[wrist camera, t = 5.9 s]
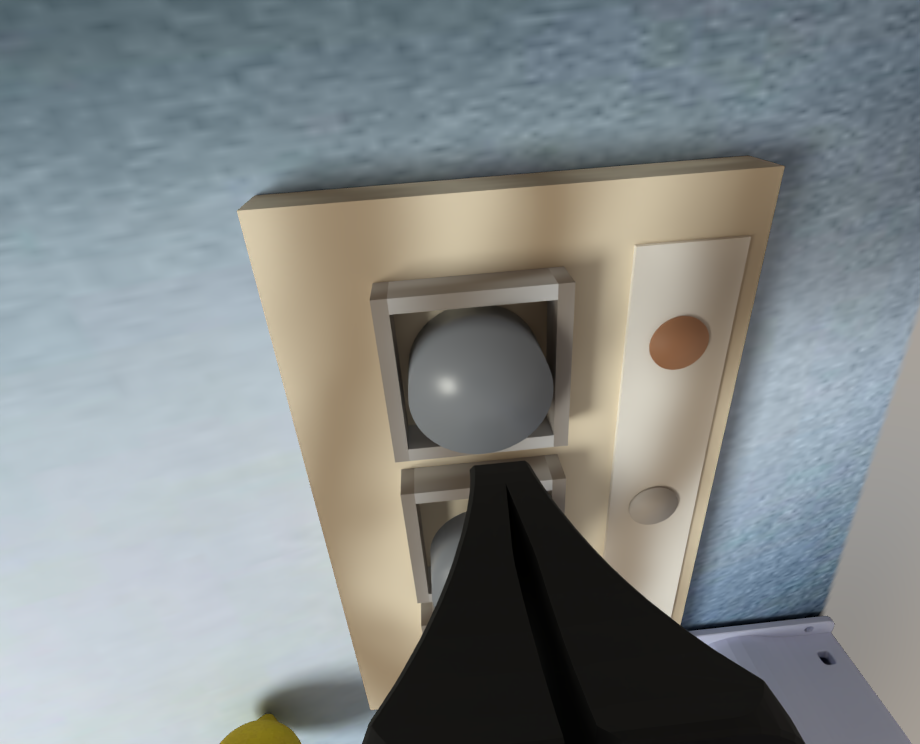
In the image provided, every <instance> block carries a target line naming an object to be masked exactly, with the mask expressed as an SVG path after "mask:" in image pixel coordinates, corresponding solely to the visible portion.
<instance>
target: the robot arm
mask: <svg viewBox="0 0 920 744" xmlns="http://www.w3.org/2000/svg"><path fill="white" fill-rule="evenodd" d="M834 624H835V623H834V622H833V621H832V619H831V618H830V617H828V616H819V617H810V618H801V619H792V620H783V621H774V622H765V623H756V624H747V625H738V626H729V627H720V628H711V629H702V630H693V631H687V630H686V629H684V628H683V627H682V626H681V625H679V624H678V623H677V622H676V621H674V620H673V619H672V618H670V617H669V616H668V615H667V614H665V613H664V612H663V611H662V610H660V609H659V608H658V607H656V606H655V605H654V604H653V603H651V602H650V601H649V600H648V599H646V598H645V597H644V596H643V595H642V594H641V593H640V592H638V591H637V590H636V589H635V588H634V587H633V586H632V585H631V584H629V583H628V582H627V581H626V580H625V579H624V578H623V577H622V576H621V575H620V574H619V573H618V572H617V571H615V570H614V569H613V568H612V567H611V566H610V565H609V564H608V563H607V562H606V561H605V560H604V559H603V558H602V557H601V556H600V555H599V553H598V552H597V551H596V550H595V549H594V548H593V547H592V546H591V545H590V544H589V543H588V542H587V540H586V539H585V538H584V537H583V536H582V535H581V534H580V533H579V531H578V530H577V529H576V528H575V527H574V526H573V524H572V523H571V522H570V521H569V519H568V518H567V517H566V516H565V514H564V513H563V512H562V511H561V509H560V508H559V507H558V506H557V504H556V503H555V502H554V500H553V499H552V498H551V496H550V495H549V493H548V492H547V491H546V489H545V488H544V486H543V485H542V483H541V482H540V480H539V479H538V477H537V476H536V474H535V472H534V471H533V469H532V467H531V466H530V464H529V463H528V462H526V461H525V460H524V461H514V462H504V463H494V464H484V465H474V466H473V467H472V468H471V469H470V492H469V500H468V506H467V511H466V516H465V520H464V524H463V529H462V533H461V537H460V540H459V543H458V547H457V550H456V553H455V556H454V560H453V563H452V566H451V569H450V571H449V574H448V577H447V580H446V582H445V585H444V587H443V590H442V592H441V595H440V597H439V599H438V602H437V604H436V606H435V608H434V611H433V613H432V615H431V617H430V619H429V622H428V624H427V626H426V628H425V630H424V632H423V634H422V636H421V638H420V640H419V642H418V643H417V645H416V647H415V649H414V651H413V652H412V654H411V656H410V658H409V660H408V661H407V663H406V665H405V667H404V669H403V670H402V672H401V674H400V676H399V677H398V679H397V681H396V682H395V684H394V686H393V687H392V689H391V690H390V692H389V693H388V695H387V696H386V698H385V699H384V701H383V703H382V704H381V706H380V707H379V709H378V710H377V712H376V713H375V715H374V716H373V718H372V719H371V721H370V723H369V725H368V728H367V731H366V734H365V737H364V740H363V743H362V744H911V742H910V740H909V739H908V738H907V736H906V735H905V733H904V732H903V730H902V729H901V728H900V726H899V725H898V724H897V722H896V721H895V719H894V718H893V717H892V715H891V714H890V712H889V711H888V710H887V708H886V707H885V706H884V704H883V703H882V701H881V700H880V699H879V697H878V696H877V695H876V693H875V692H874V691H873V689H872V688H871V686H870V685H869V684H868V683H867V681H866V680H865V678H864V677H863V675H862V674H861V673H860V671H859V670H858V669H857V667H856V666H855V665H854V663H853V662H852V661H851V659H850V658H849V656H848V655H847V654H846V652H845V651H844V649H843V648H842V647H841V645H840V644H839V643H838V641H837V640H836V638H835V637H834V636H833V635H832V633H831V632H832V630H833V628H834Z"/></svg>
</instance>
